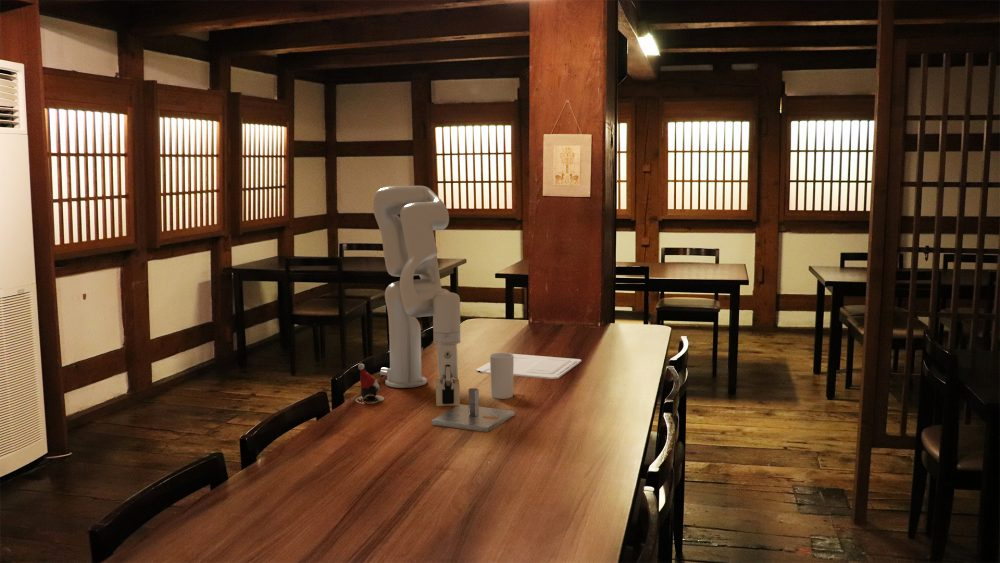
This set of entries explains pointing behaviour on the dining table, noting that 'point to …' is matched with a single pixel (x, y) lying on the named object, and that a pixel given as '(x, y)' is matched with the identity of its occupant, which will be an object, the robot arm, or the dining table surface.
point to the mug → (501, 375)
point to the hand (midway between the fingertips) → (447, 399)
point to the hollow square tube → (439, 392)
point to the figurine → (368, 387)
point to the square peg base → (473, 415)
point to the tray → (538, 366)
